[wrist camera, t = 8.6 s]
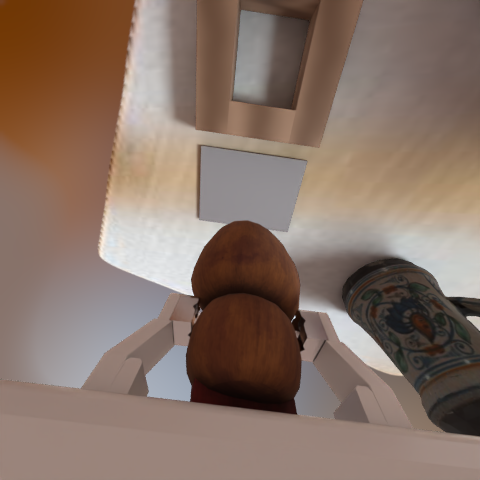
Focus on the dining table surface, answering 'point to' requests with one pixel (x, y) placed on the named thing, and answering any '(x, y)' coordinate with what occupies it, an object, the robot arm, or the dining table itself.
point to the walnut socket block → (309, 77)
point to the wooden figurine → (245, 322)
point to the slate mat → (249, 187)
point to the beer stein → (422, 337)
